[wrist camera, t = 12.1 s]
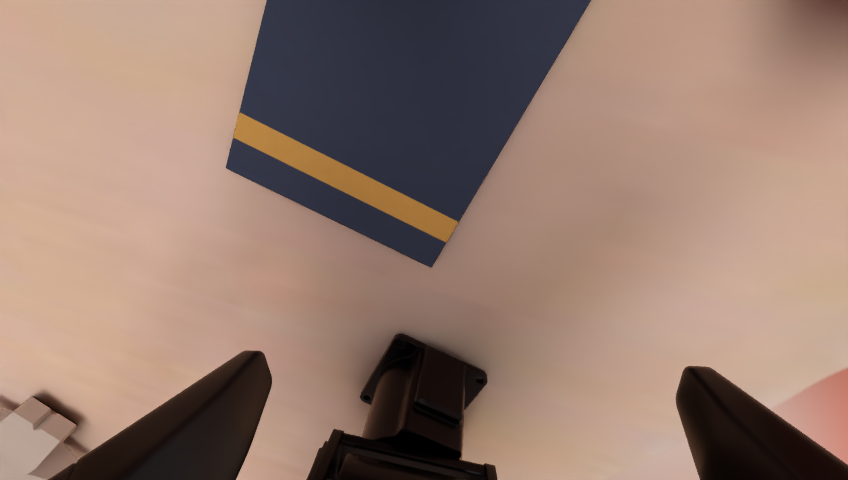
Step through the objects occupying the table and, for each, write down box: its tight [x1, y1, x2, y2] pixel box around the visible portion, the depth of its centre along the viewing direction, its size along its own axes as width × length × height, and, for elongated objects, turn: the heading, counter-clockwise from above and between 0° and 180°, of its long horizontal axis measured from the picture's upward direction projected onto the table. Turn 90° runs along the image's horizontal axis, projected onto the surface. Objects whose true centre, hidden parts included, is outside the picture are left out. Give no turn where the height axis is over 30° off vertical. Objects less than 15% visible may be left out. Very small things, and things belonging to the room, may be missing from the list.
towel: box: [226, 0, 591, 267], centre depth 17 cm, size 22×12×1 cm, turn 154°
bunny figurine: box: [0, 397, 78, 480], centre depth 34 cm, size 10×5×15 cm
